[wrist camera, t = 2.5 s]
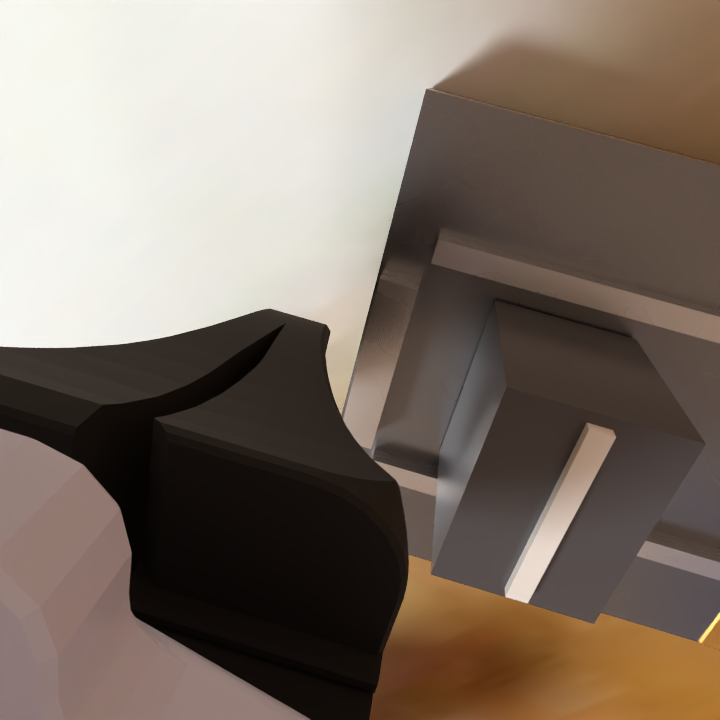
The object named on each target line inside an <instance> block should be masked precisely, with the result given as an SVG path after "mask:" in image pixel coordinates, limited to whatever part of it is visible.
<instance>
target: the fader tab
mask: <svg viewBox="0 0 720 720" xmlns="http://www.w3.org/2000/svg"><path fill="white" fill-rule="evenodd" d="M705 445H706V443H705V442H704V440H703V439H702V437H701V436H700V434H699V433H698V431H697V430H696V428H695V427H694V425H693V424H692V422H691V421H690V419H689V418H688V416H687V415H686V413H685V412H684V410H683V409H682V407H681V406H680V404H679V403H678V401H677V400H676V398H675V397H674V395H673V394H672V392H671V391H670V389H669V388H668V386H667V385H666V383H665V382H664V380H663V379H662V377H661V376H660V374H659V373H658V371H657V370H656V368H655V367H654V365H653V364H652V362H651V361H650V359H649V358H648V356H647V355H646V353H645V352H644V350H643V349H642V347H641V346H640V344H639V343H638V341H637V340H636V339H633V338H630V337H626V336H622V335H619V334H615V333H612V332H608V331H605V330H601V329H597V328H594V327H590V326H587V325H583V324H579V323H576V322H572V321H569V320H565V319H562V318H558V317H554V316H551V315H547V314H544V313H540V312H537V311H533V310H529V309H526V308H522V307H519V306H515V305H511V304H508V303H504V302H501V301H497V300H495V301H494V304H493V307H492V309H491V312H490V315H489V317H488V320H487V323H486V326H485V328H484V331H483V334H482V337H481V339H480V342H479V345H478V348H477V350H476V353H475V356H474V359H473V361H472V364H471V367H470V369H469V372H468V375H467V378H466V380H465V383H464V386H463V389H462V391H461V394H460V397H459V400H458V402H457V405H456V408H455V411H454V413H453V416H452V419H451V422H450V424H449V427H448V430H447V432H446V435H445V438H444V441H443V443H442V446H441V449H440V452H439V465H438V479H437V493H436V507H435V521H434V534H433V548H432V562H431V575H435V576H438V577H441V578H444V579H448V580H451V581H454V582H458V583H461V584H464V585H468V586H471V587H474V588H478V589H481V590H484V591H487V592H491V593H494V594H497V595H501V596H504V597H507V598H511V599H514V600H517V601H520V602H524V603H527V604H530V605H534V606H537V607H540V608H544V609H547V610H550V611H553V612H557V613H560V614H563V615H567V616H570V617H573V618H577V619H580V620H583V621H587V622H590V623H593V624H594V623H595V621H596V620H597V618H598V616H599V615H600V613H601V612H602V610H603V608H604V607H605V605H606V604H607V602H608V600H609V599H610V597H611V596H612V594H613V592H614V591H615V589H616V588H617V586H618V584H619V583H620V581H621V580H622V578H623V576H624V575H625V573H626V571H627V570H628V568H629V567H630V565H631V563H632V562H633V560H634V559H635V557H636V555H637V554H638V552H639V551H640V549H641V547H642V546H643V544H644V543H645V541H646V539H647V538H648V536H649V535H650V533H651V531H652V530H653V528H654V527H655V525H656V523H657V522H658V520H659V519H660V517H661V515H662V514H663V512H664V511H665V509H666V507H667V506H668V504H669V503H670V501H671V499H672V498H673V496H674V495H675V493H676V491H677V490H678V488H679V487H680V485H681V483H682V482H683V480H684V479H685V477H686V475H687V474H688V472H689V471H690V469H691V467H692V466H693V464H694V463H695V461H696V459H697V458H698V456H699V455H700V453H701V451H702V450H703V448H704V446H705Z"/></svg>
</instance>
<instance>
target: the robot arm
mask: <svg viewBox="0 0 720 720" xmlns="http://www.w3.org/2000/svg"><path fill="white" fill-rule="evenodd" d="M329 336H330V330H329V328H328V326H327V325H325V324H322V323H318V322H315V321H311V320H308V319H304V318H301V317H297V316H294V315H290V314H287V313H283V312H280V311H276V310H273V309H265V310H260V311H257V312H254V313H250V314H247V315H244V316H241V317H238V318H235V319H232V320H228V321H225V322H222V323H219V324H216V325H212V326H209V327H205V328H201V329H197V330H193V331H190V332H186V333H182V334H178V335H174V336H170V337H165V338H160V339H154V340H149V341H142V342H135V343H128V344H120V345H107V346H91V347H76V348H17V347H0V720H369V717H370V711H371V704H372V698H373V693H374V692H375V690H376V687H377V684H378V680H379V675H380V668H381V661H382V654H383V651H384V648H385V645H386V643H387V640H388V638H389V635H390V632H391V630H392V627H393V625H394V622H395V619H396V617H397V614H398V612H399V609H400V606H401V604H402V601H403V599H404V595H405V591H406V586H407V581H408V565H409V559H408V539H407V529H406V521H405V514H404V508H403V503H402V497H401V492H400V488H399V485H398V483H397V481H396V480H395V479H394V478H393V477H392V476H391V475H390V474H389V473H387V472H386V471H385V470H384V469H383V468H382V467H381V466H380V465H378V464H377V463H376V462H375V461H374V460H373V459H372V458H371V457H370V456H369V455H368V454H367V453H366V452H365V451H364V449H363V448H362V447H361V446H360V445H359V444H358V442H357V441H356V440H355V439H354V437H353V435H352V434H351V432H350V431H349V429H348V428H347V426H346V424H345V422H344V420H343V418H342V416H341V414H340V412H339V410H338V407H337V405H336V402H335V400H334V397H333V394H332V390H331V387H330V383H329V378H328V373H327V367H326V358H325V353H326V349H327V344H328V340H329Z"/></svg>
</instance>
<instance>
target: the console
mask: <svg viewBox="0 0 720 720" xmlns="http://www.w3.org/2000/svg"><path fill="white" fill-rule="evenodd" d="M495 300H497V301H501V302H504V303H508V304H511V305H515V306H519V307H522V308H526V309H529V310H533V311H537V312H540V313H544V314H547V315H551V316H554V317H558V318H562V319H565V320H569V321H572V322H576V323H579V324H583V325H587V326H590V327H594V328H597V329H601V330H605V331H608V332H612V333H615V334H619V335H622V336H626V337H630V338H633V339H636V340H637V341H638V343H639V344H640V346H641V347H642V349H643V350H644V352H645V353H646V355H647V356H648V358H649V359H650V361H651V362H652V364H653V365H654V367H655V368H656V370H657V371H658V373H659V374H660V376H661V377H662V379H663V380H664V382H665V383H666V385H667V386H668V388H669V389H670V391H671V392H672V394H673V395H674V397H675V398H676V400H677V401H678V403H679V404H680V406H681V407H682V409H683V410H684V412H685V413H686V415H687V416H688V418H689V419H690V421H691V422H692V424H693V425H694V427H695V428H696V430H697V431H698V433H699V434H700V436H701V437H702V439H703V440H704V442H705V443H706V445H705V446H704V448H703V450H702V451H701V453H700V455H699V456H698V458H697V459H696V461H695V463H694V464H693V466H692V467H691V469H690V471H689V472H688V474H687V475H686V477H685V479H684V480H683V482H682V483H681V485H680V487H679V488H678V490H677V491H676V493H675V495H674V496H673V498H672V499H671V501H670V503H669V504H668V506H667V507H666V509H665V511H664V512H663V514H662V515H661V517H660V519H659V520H658V522H657V523H656V525H655V527H654V528H653V530H652V531H651V533H650V535H649V536H648V538H647V539H646V541H645V543H644V544H643V546H642V547H641V549H640V551H639V552H638V554H637V555H636V557H635V559H634V560H633V562H632V563H631V565H630V567H629V568H628V570H627V571H626V573H625V575H624V576H623V578H622V580H621V581H620V583H619V584H618V586H617V588H616V589H615V591H614V592H613V594H612V596H611V597H610V599H609V600H608V602H607V604H606V605H605V607H604V608H603V610H602V612H601V613H604V614H607V615H611V616H614V617H617V618H621V619H624V620H627V621H630V622H634V623H637V624H640V625H644V626H647V627H650V628H654V629H657V630H660V631H664V632H667V633H670V634H674V635H677V636H680V637H684V638H687V639H690V640H693V641H697V642H700V644H701V645H704V646H708V647H711V648H714V649H718V650H720V165H719V164H715V163H712V162H708V161H704V160H700V159H696V158H693V157H689V156H685V155H681V154H677V153H674V152H670V151H666V150H662V149H659V148H655V147H651V146H647V145H643V144H640V143H636V142H632V141H628V140H624V139H621V138H617V137H613V136H609V135H605V134H602V133H598V132H594V131H590V130H587V129H583V128H579V127H575V126H571V125H568V124H564V123H560V122H556V121H552V120H549V119H545V118H541V117H537V116H533V115H530V114H526V113H522V112H518V111H515V110H511V109H507V108H503V107H499V106H496V105H492V104H488V103H484V102H480V101H477V100H473V99H469V98H465V97H461V96H458V95H454V94H450V93H446V92H443V91H439V90H435V89H431V88H429V89H426V92H425V95H424V99H423V103H422V107H421V111H420V115H419V119H418V122H417V126H416V130H415V134H414V138H413V142H412V146H411V149H410V153H409V157H408V161H407V165H406V169H405V173H404V177H403V180H402V184H401V188H400V192H399V196H398V200H397V204H396V207H395V211H394V215H393V219H392V223H391V227H390V231H389V234H388V238H387V242H386V246H385V250H384V254H383V258H382V261H381V265H380V269H379V273H378V277H377V281H376V285H375V288H374V292H373V296H372V300H371V304H370V308H369V312H368V315H367V319H366V323H365V327H364V331H363V335H362V339H361V342H360V346H359V350H358V354H357V358H356V362H355V366H354V369H353V373H352V377H351V381H350V385H349V389H348V393H347V396H346V400H345V404H344V408H343V412H342V418H343V420H344V422H345V424H346V426H347V428H348V429H349V431H350V432H351V434H352V435H353V437H354V439H355V440H356V441H357V442H358V444H359V445H360V446H361V447H362V448H363V449H364V451H365V452H366V453H367V454H368V455H369V456H370V457H371V458H372V459H373V460H374V461H375V462H376V463H377V464H378V465H380V466H381V467H382V468H383V469H384V470H385V471H386V472H387V473H389V474H390V475H391V476H392V477H393V478H394V479H395V480H396V481H397V483H398V485H399V488H400V492H401V497H402V503H403V508H404V514H405V521H406V529H407V539H408V555H412V556H415V557H418V558H422V559H425V560H428V561H432V548H433V534H434V521H435V507H436V493H437V479H438V465H439V452H440V449H441V446H442V443H443V441H444V438H445V435H446V432H447V430H448V427H449V424H450V422H451V419H452V416H453V413H454V411H455V408H456V405H457V402H458V400H459V397H460V394H461V391H462V389H463V386H464V383H465V380H466V378H467V375H468V372H469V369H470V367H471V364H472V361H473V359H474V356H475V353H476V350H477V348H478V345H479V342H480V339H481V337H482V334H483V331H484V328H485V326H486V323H487V320H488V317H489V315H490V312H491V309H492V307H493V304H494V301H495Z"/></svg>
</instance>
